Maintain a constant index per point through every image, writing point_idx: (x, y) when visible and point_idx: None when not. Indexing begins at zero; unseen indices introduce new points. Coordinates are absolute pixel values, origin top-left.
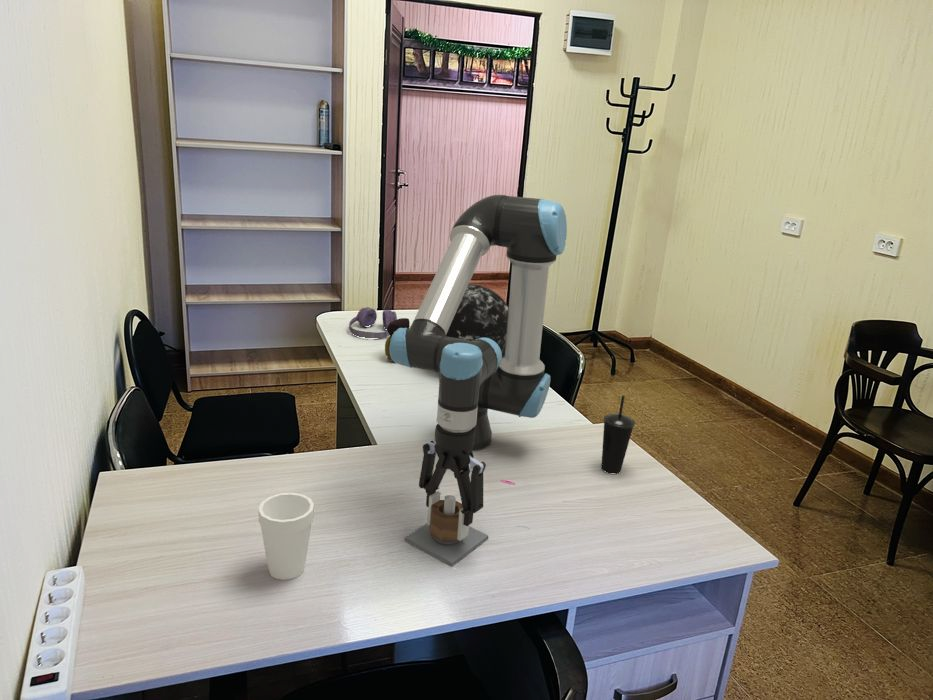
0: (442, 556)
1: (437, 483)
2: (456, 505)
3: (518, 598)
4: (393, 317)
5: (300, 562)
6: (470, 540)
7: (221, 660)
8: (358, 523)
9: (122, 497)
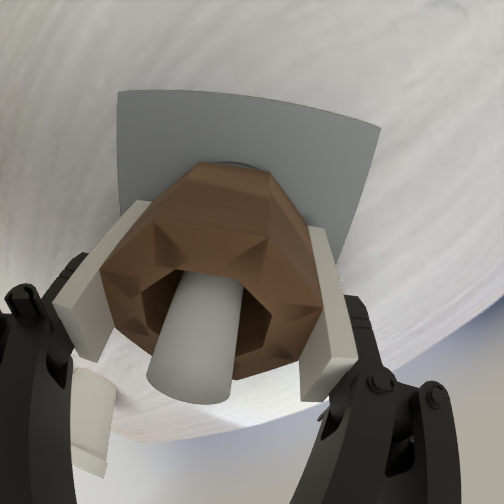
0: None
1: (53, 411)
2: (216, 272)
3: (463, 312)
4: None
5: (111, 407)
6: (325, 195)
7: (177, 439)
8: (35, 271)
9: None
